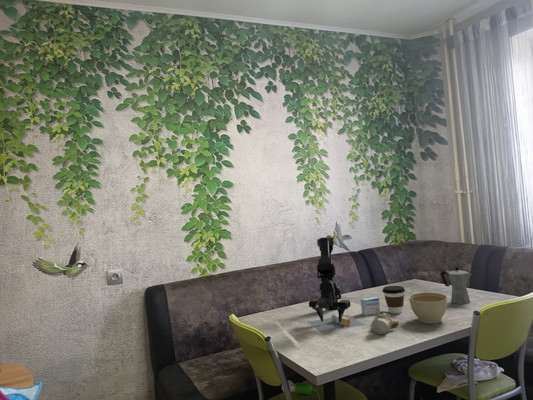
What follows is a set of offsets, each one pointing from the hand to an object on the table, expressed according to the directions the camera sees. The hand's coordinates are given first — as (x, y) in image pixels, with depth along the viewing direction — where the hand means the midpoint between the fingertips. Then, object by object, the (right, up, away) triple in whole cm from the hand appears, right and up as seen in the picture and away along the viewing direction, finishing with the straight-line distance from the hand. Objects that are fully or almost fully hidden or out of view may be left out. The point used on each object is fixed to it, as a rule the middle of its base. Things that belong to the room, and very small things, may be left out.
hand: (331, 322), depth 183 cm
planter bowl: (+44, +2, -4) cm, 44 cm away
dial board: (+2, -2, +2) cm, 4 cm away
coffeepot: (+69, +4, +20) cm, 72 cm away
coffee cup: (+35, +1, +14) cm, 37 cm away
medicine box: (+22, -1, +12) cm, 25 cm away
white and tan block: (+5, -1, +1) cm, 5 cm away
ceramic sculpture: (+21, -1, -10) cm, 24 cm away
